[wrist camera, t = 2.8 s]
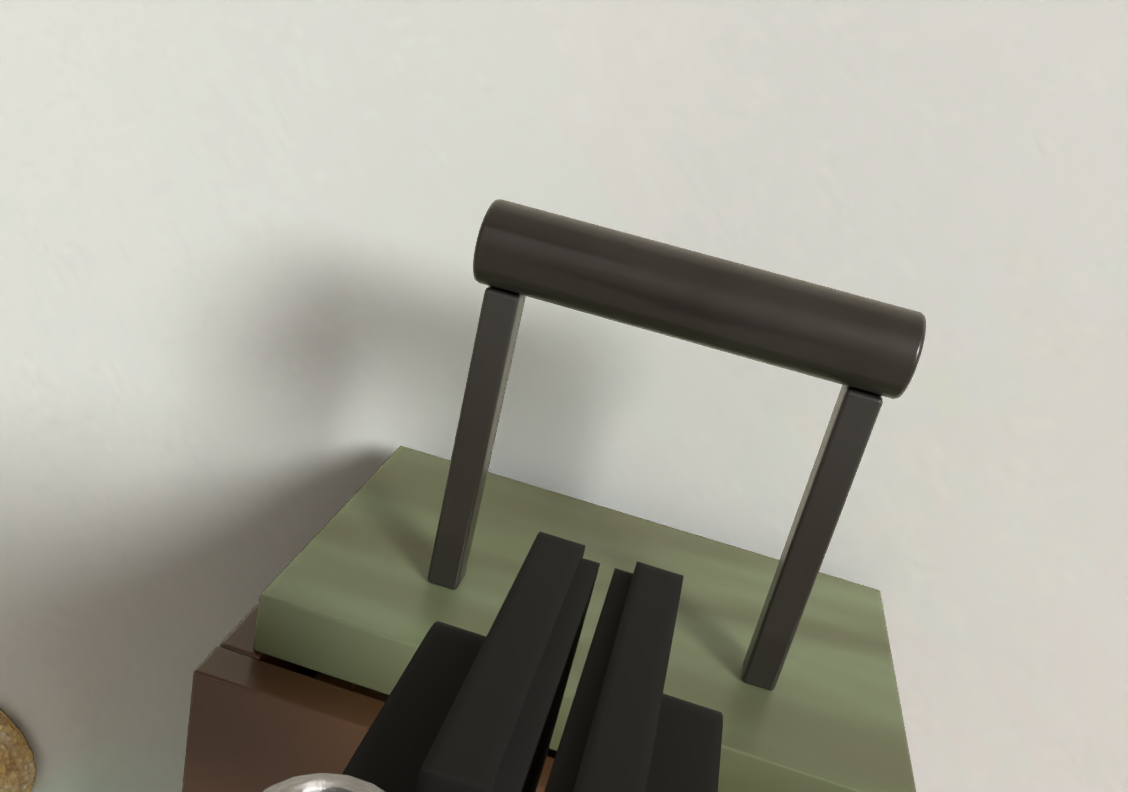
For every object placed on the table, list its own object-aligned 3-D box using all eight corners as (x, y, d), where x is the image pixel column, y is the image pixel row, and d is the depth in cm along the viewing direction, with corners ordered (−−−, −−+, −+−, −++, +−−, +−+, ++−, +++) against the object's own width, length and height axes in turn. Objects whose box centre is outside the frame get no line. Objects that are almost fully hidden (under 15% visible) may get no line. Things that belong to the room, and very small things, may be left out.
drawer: (455, 138, 20) (310, 181, 14) (1006, 283, 19) (1116, 401, 13) (326, 860, 28) (196, 1095, 22) (713, 998, 27) (692, 1289, 21)
